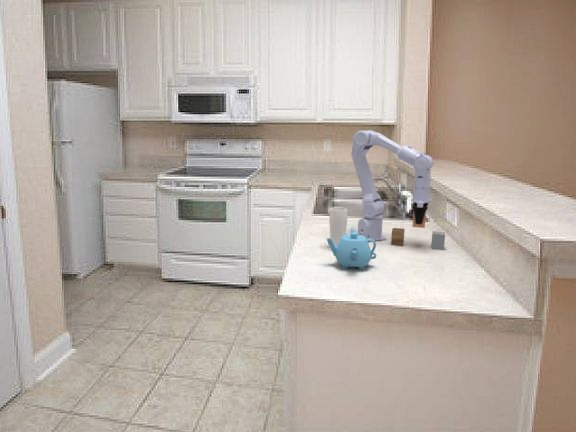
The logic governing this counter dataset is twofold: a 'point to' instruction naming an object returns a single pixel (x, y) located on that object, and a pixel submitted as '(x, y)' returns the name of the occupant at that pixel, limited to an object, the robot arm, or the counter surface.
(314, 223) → the counter surface
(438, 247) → the slate block
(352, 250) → the teapot
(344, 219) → the drinking glass
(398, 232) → the walnut block
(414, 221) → the terracotta block
